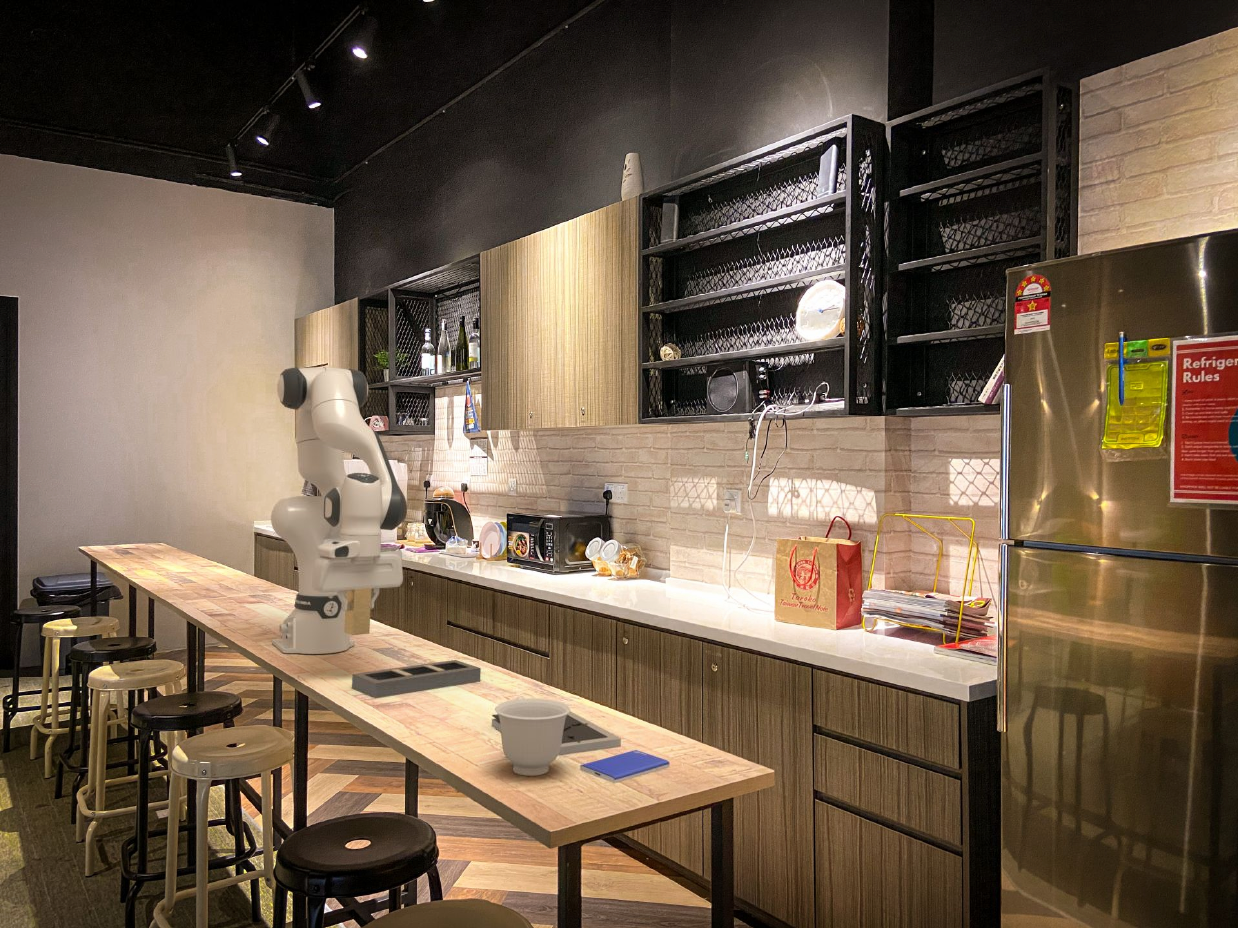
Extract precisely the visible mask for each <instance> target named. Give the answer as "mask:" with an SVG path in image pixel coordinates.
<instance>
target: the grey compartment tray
mask: <svg viewBox="0 0 1238 928" xmlns="http://www.w3.org/2000/svg"><path fill="white" fill-rule="evenodd" d="M481 672H482V668H481V667H479V666H477V665H472V664H470V663H467V662H463V661H460V660H458V659H457V660H456V659H451V660H445V661H437V662H431V663H424V664H414V665H408V666H400V667H393V668H386V669H385V668H384V669H378V670H372V671H364V672H357V673H355V672H354V673H352V674H351V675H352V676H351V677H352V679H351V689H354V690H356V691H358V692H360V693H362V694H365V695H368V696H370V697H372V698H375V699H377V698H383V697H389V696H396V695H402V694H408V693H410V694H411V693H415V692H422V691H423V692H424V691H427V690H428V691H429V690H434V689H441V688H447V687H453V686H460V685H466V684H472V683H473V684H474V683H478V682H481V675H482V674H481Z"/></svg>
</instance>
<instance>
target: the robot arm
mask: <svg viewBox="0 0 1238 928" xmlns="http://www.w3.org/2000/svg"><path fill="white" fill-rule="evenodd" d="M279 375H280V376H279V378H278V381H277V384H276V392H277V396H278V398H279V402H280V403H281V404H282V406H283V407H284V408H287V409H290V410H296V411H299V412H298V419H297V424H296V425H297V428H296V447H297V448H296V449H297V450H296V451H297V467H298V468H297V469H298V473H299V475H300V476H301V478H303V479H304V480H305V481H306V482H308V483H309V484H312V485H314V486H315V487H316V488H317V490H319V493H320V495H321V496H318V495H316V496H315V495H314V496H313V495H309V496H308V495H302V496H301V495H298V496H292V497H287V498H282V499H279V500H278V501H277V502H276V504H275V505H274V507H273V508H272V511H271V516H270V522H271V526H272V530H273V531H274V533H276V535H277V536H278V537H279V538H281V539H283V540H284V541H285V542H286V543H287V544H288V546H289V547H290V548H291V550H292V552H293V553H294V556H295V558H296V559H295V560H296V562H297V569H298V572H297V573H298V593H297V594H295V596H296V597H295V600H294V606H293V607H294V609H293V610H292V612H290V613H289V615H287V617H286V618H285V619H284V620H283V623H280V624H279V629H278V630H279V634H281V637H277V638H274V639H272V644H273V645H274V646H275V647H276V648H277V649H278V650H279V651H281V653H283V654H303V655H306V654H307V655H322V654H334V653H340V652H344V651H347V650H348V649H349V648H351V647H354V646H355V640H351V635H350V634H348V633H345V632H344V626H345V611H351V603H350V602H347V600H346V596H347V591H348V590H354V589H367V588H371V609H370V610H374V608H375V601H376V600H377V598H378V596H379V594H380V589H388V588H397V587H398V588H399V587H401V585H402V584H403V581H404V575H403V574H404V573H403V563H402V562H403V551H402V550H401V548H399V547H398V546H397V545H391V546H387V545H382V531H383V530H385V531H393V530H395V529H397V528H398V527H399V526H400V525H401V524H403V522H404V521H405V519H406V518H407V514H408V504H407V503H408V502H407V499H406V496H405V494H404V492H403V491H402V489H401V488H400V486H399V483H398V481H397V479H396V477H395V474H394V472H393V468H392V465H391V463H390V461H389V457H388V455H387V451H386V450H385V447H384V444H383V442H382V439H381V437H380V436H379V434H378V432H377V431H375V430H374V429H373V428H371V427H370V426H369V425H368V424H367V422H366V421H365V420H364V418H363V417H362V414H361V412H360V409H361V408H362V407H363V406H364V405H365V404H366V402H367V399H368V395H369V384H368V381H367V377H366V376H365V374H364V373H363V372H362V371H360V370H358V369H353V368H348V369H347V368H342V367H341V368H340V367H332V366H331V367H330V366H323V367H319V366H317V367H316V366H315V367H302V368H301V367H300V368H299V367H298V366H297V367H296V366H295V367H290V368H286V369H284V370H283V371H282V372H281V373H280V374H279ZM343 452H344V453H347V454H350V455H352V456H355V457H357V458H358V459H360V460H362V461H363V462H364V463H365V464H366V465H367V467H368V470H369V472H370V473H365V472H352V473H349V474H346V469H345V464H344V455H343ZM324 540H331V541H328V542H326V543H325V542H324Z"/></svg>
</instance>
